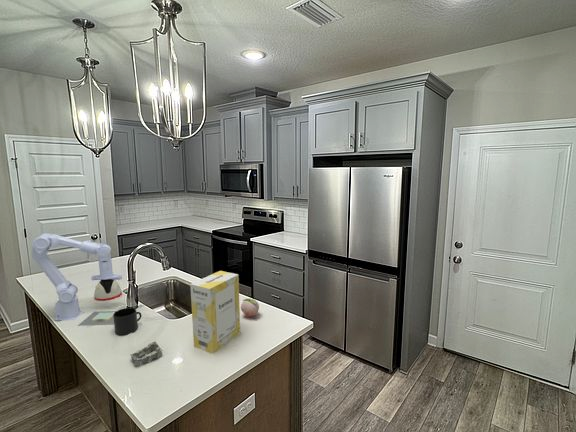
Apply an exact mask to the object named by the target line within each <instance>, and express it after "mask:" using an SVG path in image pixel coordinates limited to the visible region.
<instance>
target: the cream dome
mask: <svg viewBox="0 0 576 432" xmlns="http://www.w3.org/2000/svg"><path fill="white" fill-rule="evenodd" d="M98 281H99V282H98V283H96V284H95V285H96V286H95V289H94V294H93V296H94V300H95V301H97V302H103V301H104V302H105V301H111V300H114V299H117V298H120V297H121V296H122V295H123V294H122V293H123V290H122V289H121V285H120V284H119V283H118V281H117V280H114V281H113V284H112V287H111V292H110V293H109V294H106V292H105V290H104V288H103V286H102V285H101V284H100V281H101V280H98Z"/></svg>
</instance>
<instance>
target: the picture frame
mask: <svg viewBox="0 0 576 432" xmlns="http://www.w3.org/2000/svg"><path fill="white" fill-rule="evenodd" d="M116 311H117V310H111V311H110V310H106V311H105V310H102V311H93V312H92V313H91V314H90V315H89V316H87V317H86V318H84V319H83V321H81V322H80V323H79V324H78V325H77V327H81V326H82V327H83V326H108V325H109V326H110V325H111V326H112V325H113V326H114V318H112V319H111V320H110V321H103V322H92V319H93V318H94V317H95V316H97V315H98V314H99V313H106V312H116Z"/></svg>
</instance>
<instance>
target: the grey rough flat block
mask: <svg viewBox="0 0 576 432" xmlns="http://www.w3.org/2000/svg"><path fill="white" fill-rule="evenodd" d="M152 351H153V353H152ZM155 351H156V352H155ZM162 351H163V349H162V348H161V347H160V346H159V344H158V342H157V341H152V342H150V343H149V344H147V346H144V347H143V348H141V349H138V350H137V351H135V352H134V353H131V354H129V355H130V357H131V362H132V363H134V366H135V367H137V366H138V367H141V366H143V365H144V363H151V362H152V360H153V359H159V358H161V356H162V353H163V352H162Z"/></svg>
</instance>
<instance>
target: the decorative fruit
mask: <svg viewBox="0 0 576 432" xmlns="http://www.w3.org/2000/svg"><path fill="white" fill-rule="evenodd" d="M259 309H260V304H259V302H258V300H256V299H253V298H244V299H242V302H241V305H240V310H241V312H242V313H243V315H245V316H247V317H251V318H252V317H254V316H256V315H257V314H258V312H259Z"/></svg>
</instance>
